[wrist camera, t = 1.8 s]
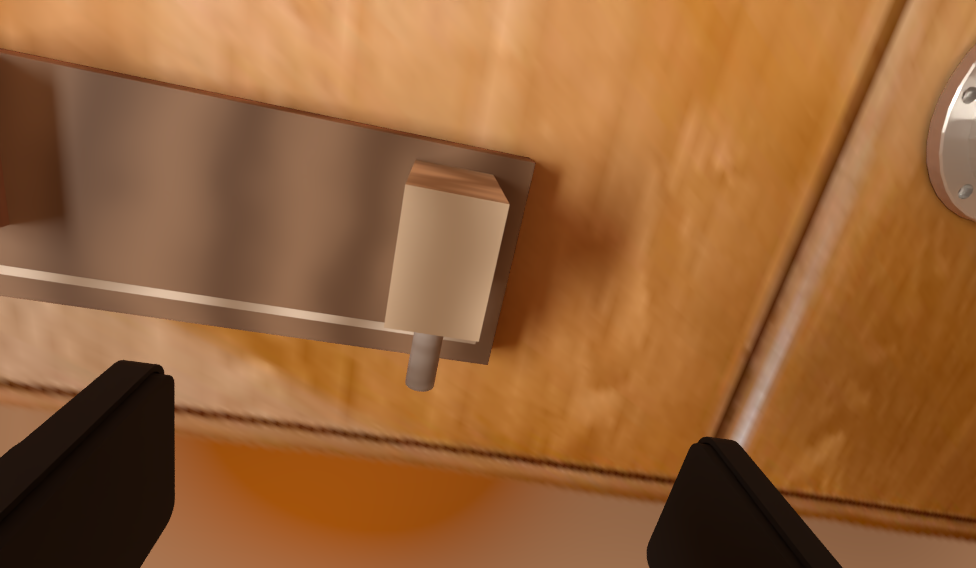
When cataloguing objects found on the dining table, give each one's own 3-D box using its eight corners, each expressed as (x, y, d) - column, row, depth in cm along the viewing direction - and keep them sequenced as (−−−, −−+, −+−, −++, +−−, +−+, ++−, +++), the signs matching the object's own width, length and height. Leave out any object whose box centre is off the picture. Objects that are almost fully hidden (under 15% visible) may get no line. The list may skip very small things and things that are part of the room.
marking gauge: (493, 174, 26) (509, 204, 19) (457, 345, 29) (461, 419, 23) (415, 159, 25) (405, 184, 19) (388, 335, 28) (371, 408, 22)
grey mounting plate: (529, 158, 27) (546, 172, 23) (485, 348, 32) (492, 393, 27) (-49, 38, 23) (-172, 25, 19) (-13, 275, 27) (-107, 313, 23)
